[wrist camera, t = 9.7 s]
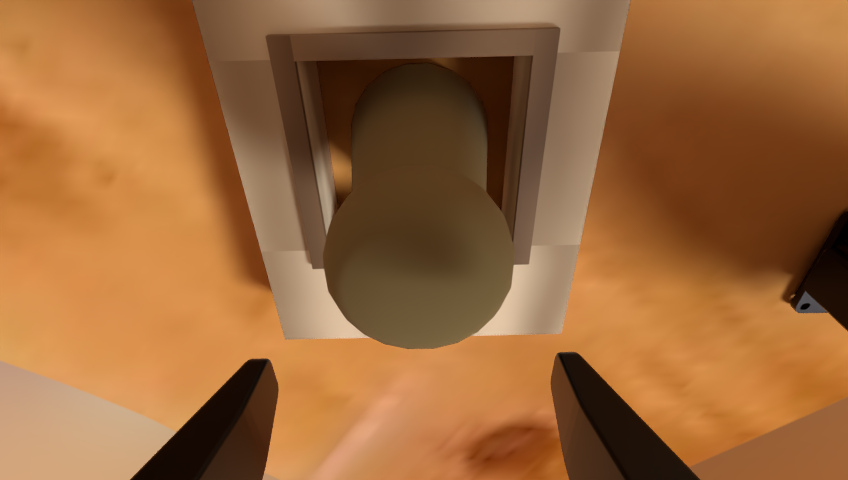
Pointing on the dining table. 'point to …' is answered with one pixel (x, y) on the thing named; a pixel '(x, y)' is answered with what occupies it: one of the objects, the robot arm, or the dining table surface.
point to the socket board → (404, 39)
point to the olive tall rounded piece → (419, 215)
